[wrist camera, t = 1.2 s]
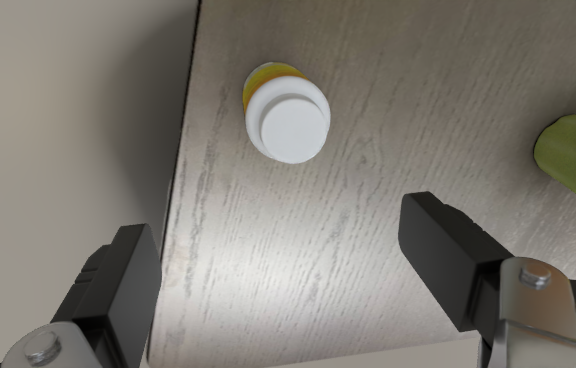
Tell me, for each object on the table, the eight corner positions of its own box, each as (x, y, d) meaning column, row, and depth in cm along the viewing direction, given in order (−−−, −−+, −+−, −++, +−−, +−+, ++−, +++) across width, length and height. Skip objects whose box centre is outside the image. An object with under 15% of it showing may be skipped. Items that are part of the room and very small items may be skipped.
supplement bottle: (227, 89, 28) (225, 125, 19) (281, 45, 27) (306, 61, 18) (269, 139, 31) (285, 193, 22) (320, 101, 30) (358, 139, 21)
